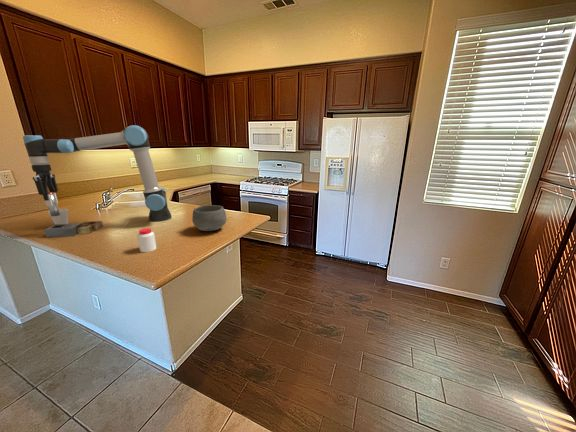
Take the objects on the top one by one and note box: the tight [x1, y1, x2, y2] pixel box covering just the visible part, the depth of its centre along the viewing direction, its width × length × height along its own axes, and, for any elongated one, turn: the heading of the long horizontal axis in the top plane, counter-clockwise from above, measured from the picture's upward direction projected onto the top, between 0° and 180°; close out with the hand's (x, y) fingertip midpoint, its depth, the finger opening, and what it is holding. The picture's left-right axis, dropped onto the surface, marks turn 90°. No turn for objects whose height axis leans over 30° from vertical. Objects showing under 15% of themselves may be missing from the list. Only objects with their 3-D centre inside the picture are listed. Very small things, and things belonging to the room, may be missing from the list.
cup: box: [47, 208, 69, 225], centre depth 156 cm, size 10×10×11 cm
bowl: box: [191, 204, 228, 232], centre depth 154 cm, size 21×21×15 cm
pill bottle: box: [136, 227, 157, 253], centre depth 125 cm, size 8×8×11 cm
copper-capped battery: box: [47, 191, 60, 216], centre depth 139 cm, size 4×4×14 cm
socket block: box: [44, 222, 83, 238], centre depth 145 cm, size 14×10×5 cm
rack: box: [81, 220, 104, 232], centre depth 153 cm, size 10×8×4 cm
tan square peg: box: [76, 225, 93, 235], centre depth 146 cm, size 11×4×4 cm, turn 103°
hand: (52, 204), depth 139 cm, fingers closed on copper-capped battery, 4 cm apart
